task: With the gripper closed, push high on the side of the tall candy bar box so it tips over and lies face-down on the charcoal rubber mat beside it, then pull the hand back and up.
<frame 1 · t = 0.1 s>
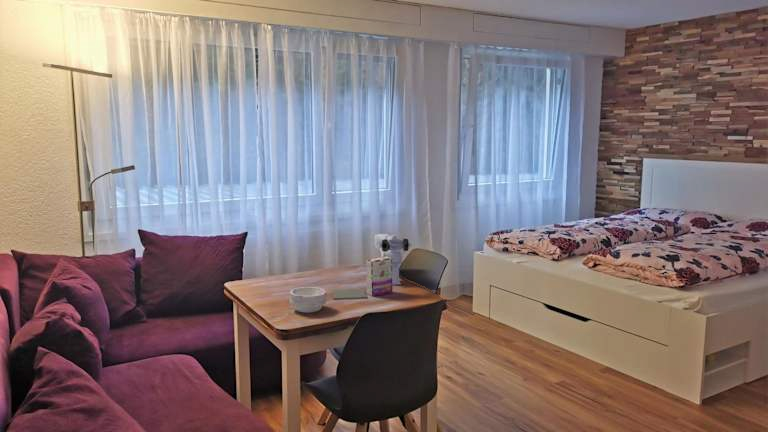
hand: (397, 247, 267), 22 cm above the table, tool horizontal, fingers open, 7 cm apart
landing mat: (349, 294, 269), on the table
candy bar box: (379, 294, 270), on the table
paper bowls: (308, 309, 247), on the table
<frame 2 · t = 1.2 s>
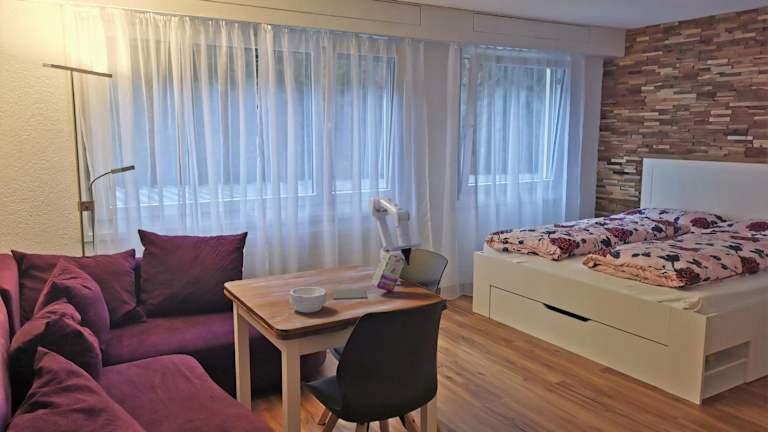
hand: (408, 265, 270), 13 cm above the table, tool tilted 20°, fingers closed, pressing on candy bar box
candy bar box: (380, 288, 270), point 2 cm above the table, touching gripper
everything else where it was.
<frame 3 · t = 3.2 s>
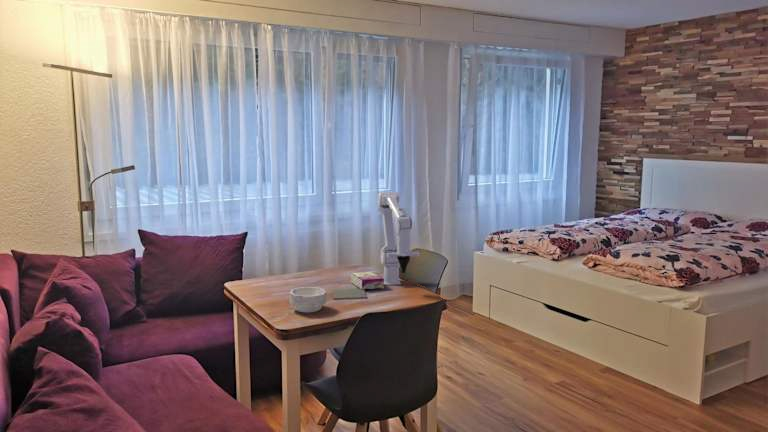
hand: (403, 272, 270), 9 cm above the table, tool pointing down, fingers closed
candy bar box: (373, 284, 275), point 3 cm above the table, touching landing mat
everything else where it was.
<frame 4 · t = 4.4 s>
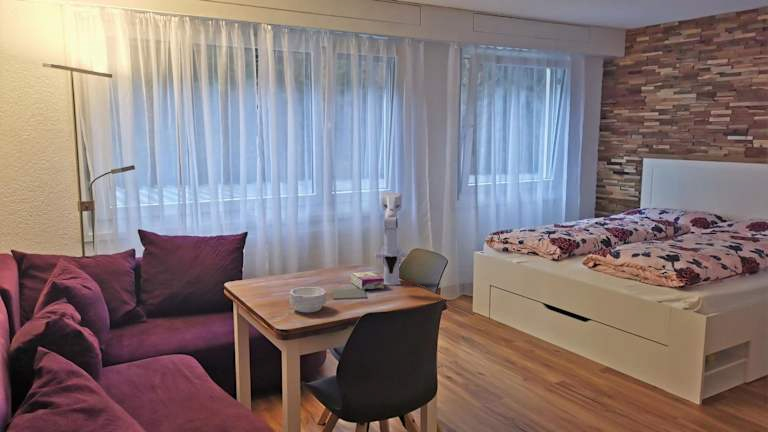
hand: (390, 273, 270), 9 cm above the table, tool pointing down, fingers closed
nothing on the table moved.
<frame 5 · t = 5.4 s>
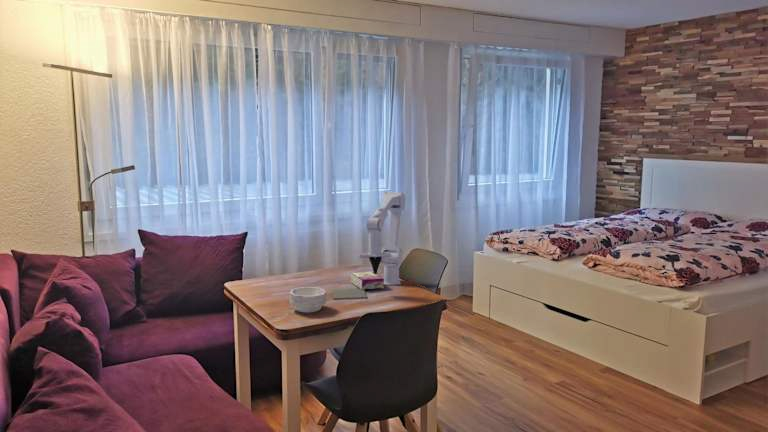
hand: (375, 273, 269), 9 cm above the table, tool pointing down, fingers closed
nothing on the table moved.
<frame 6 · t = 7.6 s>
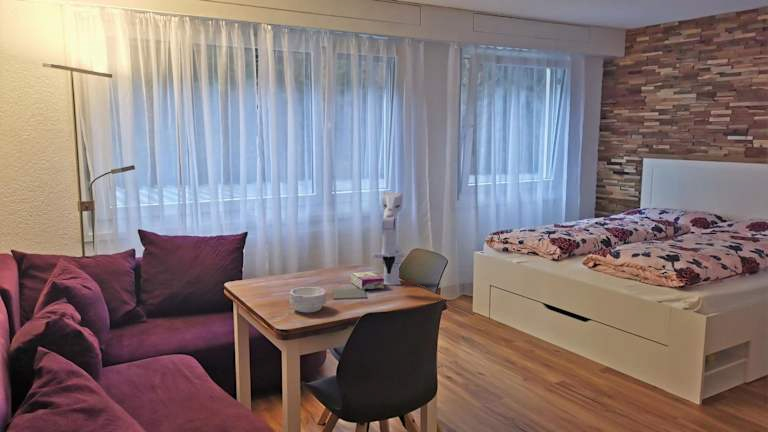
hand: (388, 273, 270), 9 cm above the table, tool pointing down, fingers closed
nothing on the table moved.
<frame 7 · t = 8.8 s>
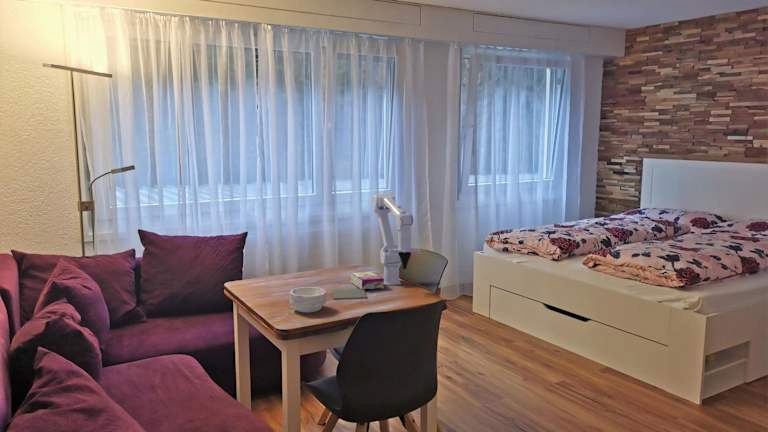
hand: (404, 268, 274), 10 cm above the table, tool pointing down, fingers closed
nothing on the table moved.
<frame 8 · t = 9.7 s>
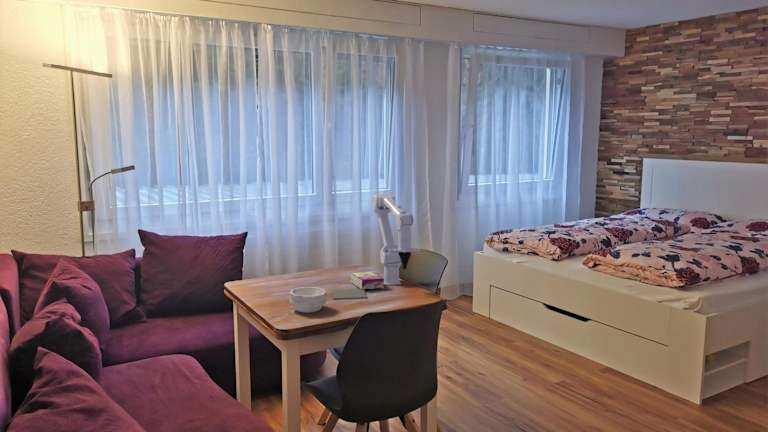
hand: (404, 268, 274), 10 cm above the table, tool pointing down, fingers closed
nothing on the table moved.
at the end: candy bar box tilted 91°; candy bar box inside the target area (6.1 cm from its centre), point 2.7 cm above the table; candy bar box touching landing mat, table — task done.
